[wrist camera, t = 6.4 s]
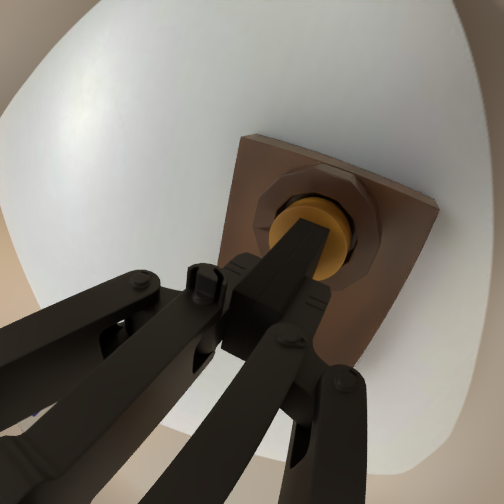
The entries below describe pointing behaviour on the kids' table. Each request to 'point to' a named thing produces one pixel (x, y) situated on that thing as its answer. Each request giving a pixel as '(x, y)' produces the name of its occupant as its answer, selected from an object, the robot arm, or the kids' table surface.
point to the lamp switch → (324, 216)
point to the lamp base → (362, 226)
